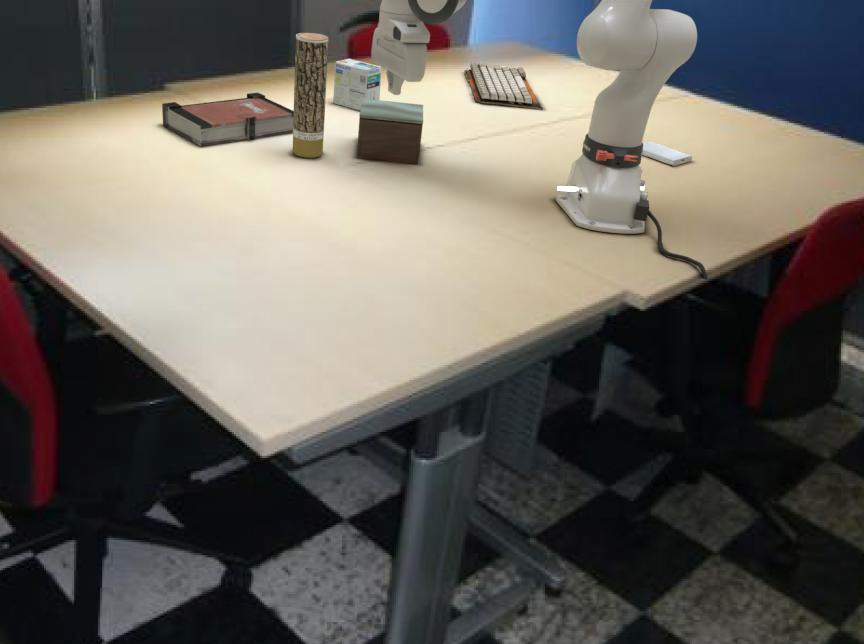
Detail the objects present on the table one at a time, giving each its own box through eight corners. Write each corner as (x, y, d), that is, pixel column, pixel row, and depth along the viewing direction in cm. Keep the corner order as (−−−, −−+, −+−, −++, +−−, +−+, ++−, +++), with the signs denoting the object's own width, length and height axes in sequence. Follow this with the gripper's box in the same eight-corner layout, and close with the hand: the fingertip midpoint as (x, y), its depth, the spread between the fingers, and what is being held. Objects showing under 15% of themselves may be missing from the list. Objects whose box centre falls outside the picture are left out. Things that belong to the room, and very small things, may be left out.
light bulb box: (379, 108, 239) (383, 65, 233) (365, 112, 234) (368, 69, 228) (346, 99, 243) (349, 57, 237) (332, 103, 238) (334, 61, 232)
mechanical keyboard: (542, 109, 253) (545, 97, 251) (475, 104, 251) (477, 91, 250) (522, 76, 284) (524, 65, 283) (462, 71, 283) (464, 60, 281)
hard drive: (632, 145, 226) (674, 159, 219) (650, 140, 231) (692, 154, 224) (630, 151, 227) (672, 166, 220) (649, 147, 232) (691, 161, 225)
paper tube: (328, 155, 202) (335, 38, 189) (306, 161, 198) (311, 41, 184) (308, 147, 206) (313, 31, 192) (286, 152, 202) (289, 34, 188)
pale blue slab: (422, 124, 198) (423, 121, 197) (359, 117, 197) (359, 114, 197) (422, 107, 211) (423, 104, 210) (363, 101, 210) (363, 98, 210)
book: (202, 147, 199) (202, 125, 196) (163, 125, 209) (162, 103, 207) (299, 133, 214) (299, 111, 212) (257, 112, 225) (258, 92, 222)
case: (418, 164, 204) (422, 125, 199) (356, 157, 203) (359, 118, 198) (418, 144, 215) (422, 107, 211) (360, 138, 215) (363, 101, 210)
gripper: (366, 16, 196) (362, 81, 204) (406, 36, 181) (400, 106, 188) (392, 16, 199) (387, 81, 206) (434, 36, 184) (427, 105, 191)
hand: (394, 93), depth 197 cm, fingers closed
